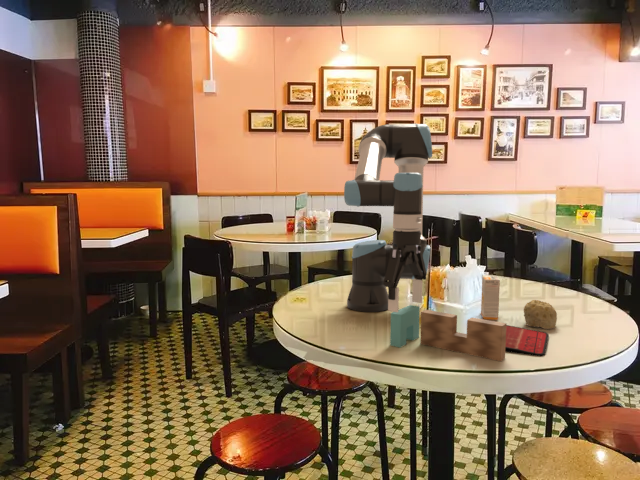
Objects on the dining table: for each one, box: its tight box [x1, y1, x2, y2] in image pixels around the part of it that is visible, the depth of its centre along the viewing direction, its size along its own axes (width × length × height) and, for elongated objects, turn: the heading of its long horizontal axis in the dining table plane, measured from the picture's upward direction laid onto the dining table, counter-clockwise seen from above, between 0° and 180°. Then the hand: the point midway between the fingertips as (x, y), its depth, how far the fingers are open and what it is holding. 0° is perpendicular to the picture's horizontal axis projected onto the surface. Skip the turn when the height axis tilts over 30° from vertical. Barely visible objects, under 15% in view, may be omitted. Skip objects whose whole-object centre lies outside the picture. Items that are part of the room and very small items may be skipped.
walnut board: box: [420, 309, 508, 362], centre depth 135 cm, size 22×3×9 cm, turn 52°
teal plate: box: [389, 304, 421, 348], centre depth 143 cm, size 11×3×9 cm, turn 142°
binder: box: [505, 324, 550, 357], centre depth 143 cm, size 16×2×21 cm
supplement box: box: [480, 274, 501, 321], centre depth 167 cm, size 8×5×13 cm, turn 168°
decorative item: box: [523, 299, 558, 330], centre depth 158 cm, size 10×10×10 cm
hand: (405, 306), depth 142 cm, fingers open, 13 cm apart
